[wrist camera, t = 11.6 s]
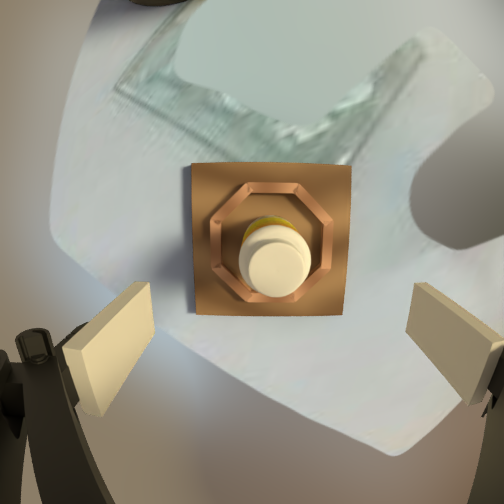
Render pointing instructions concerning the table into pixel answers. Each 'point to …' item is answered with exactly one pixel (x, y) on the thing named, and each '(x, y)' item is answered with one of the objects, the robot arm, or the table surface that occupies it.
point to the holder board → (262, 204)
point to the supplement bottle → (274, 256)
